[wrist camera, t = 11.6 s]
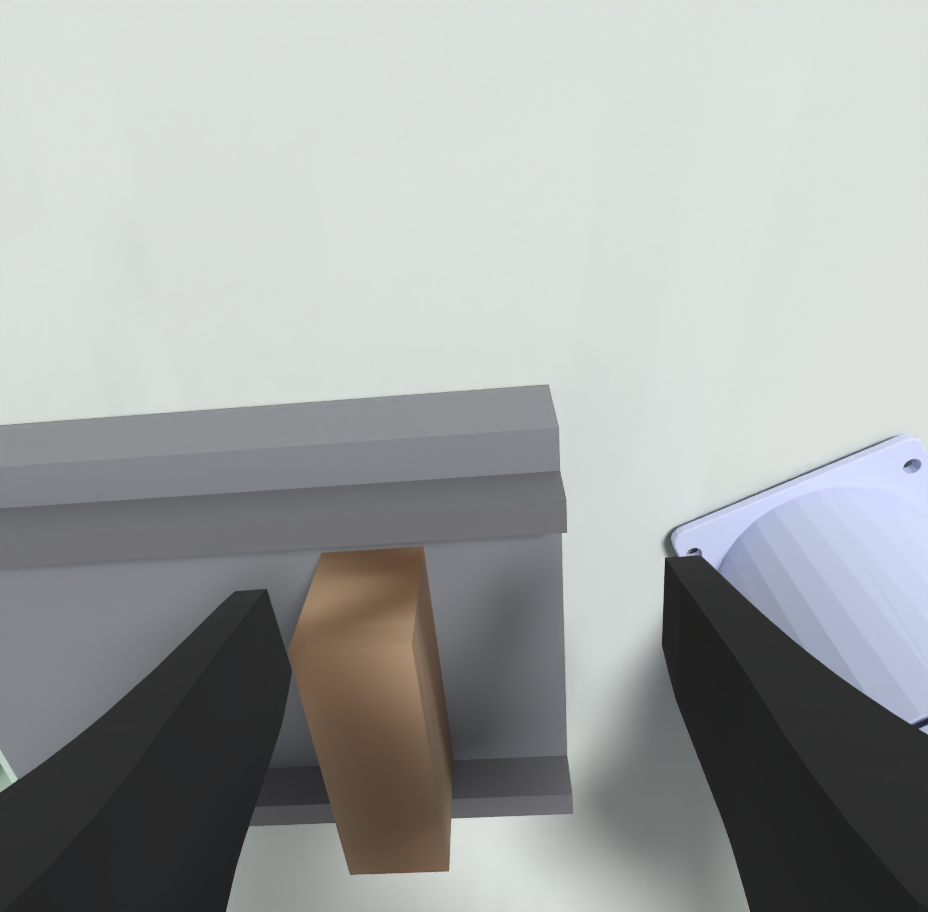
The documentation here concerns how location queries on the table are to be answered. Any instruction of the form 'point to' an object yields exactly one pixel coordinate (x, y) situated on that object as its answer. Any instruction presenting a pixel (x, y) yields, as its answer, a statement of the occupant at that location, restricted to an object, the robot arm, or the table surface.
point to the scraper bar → (378, 708)
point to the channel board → (292, 567)
